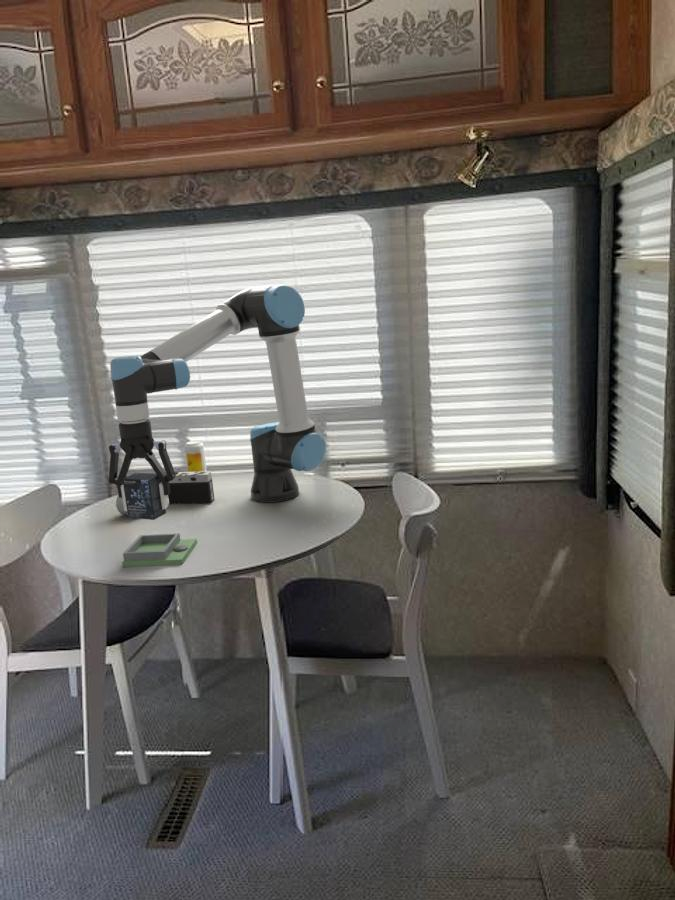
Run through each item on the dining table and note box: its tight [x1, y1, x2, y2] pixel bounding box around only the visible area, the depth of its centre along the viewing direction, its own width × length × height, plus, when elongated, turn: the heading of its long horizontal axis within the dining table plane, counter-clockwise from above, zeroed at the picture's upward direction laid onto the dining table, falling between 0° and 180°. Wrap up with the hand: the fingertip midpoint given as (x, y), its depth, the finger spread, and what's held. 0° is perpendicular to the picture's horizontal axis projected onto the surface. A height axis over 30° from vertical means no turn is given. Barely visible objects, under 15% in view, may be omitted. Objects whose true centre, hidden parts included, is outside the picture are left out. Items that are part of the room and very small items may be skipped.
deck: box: [122, 533, 198, 567], centre depth 176 cm, size 15×14×3 cm
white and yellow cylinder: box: [184, 440, 208, 472], centre depth 237 cm, size 6×6×15 cm
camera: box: [167, 470, 215, 505], centre depth 220 cm, size 14×8×10 cm, turn 81°
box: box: [123, 472, 167, 521], centre depth 173 cm, size 8×6×11 cm
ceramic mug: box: [115, 494, 128, 516], centre depth 212 cm, size 11×8×8 cm
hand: (146, 508), depth 174 cm, fingers closed on box, 9 cm apart
